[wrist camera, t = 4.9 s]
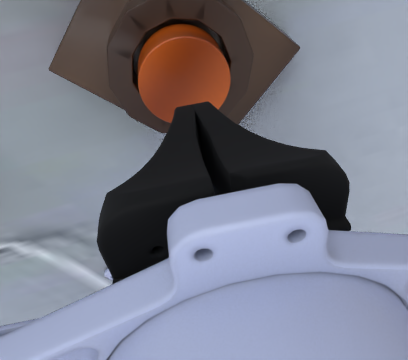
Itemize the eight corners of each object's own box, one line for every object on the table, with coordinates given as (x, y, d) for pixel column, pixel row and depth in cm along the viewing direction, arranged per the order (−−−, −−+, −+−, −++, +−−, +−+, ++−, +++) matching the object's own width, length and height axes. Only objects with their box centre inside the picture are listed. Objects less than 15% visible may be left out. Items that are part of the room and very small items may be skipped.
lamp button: (239, 55, 19) (249, 70, 17) (192, 120, 21) (196, 139, 19) (167, 4, 17) (170, 15, 15) (122, 81, 19) (120, 98, 17)
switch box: (288, 36, 22) (313, 59, 19) (207, 139, 26) (217, 172, 23) (126, -96, 17) (123, -93, 14) (55, 55, 21) (40, 84, 18)
